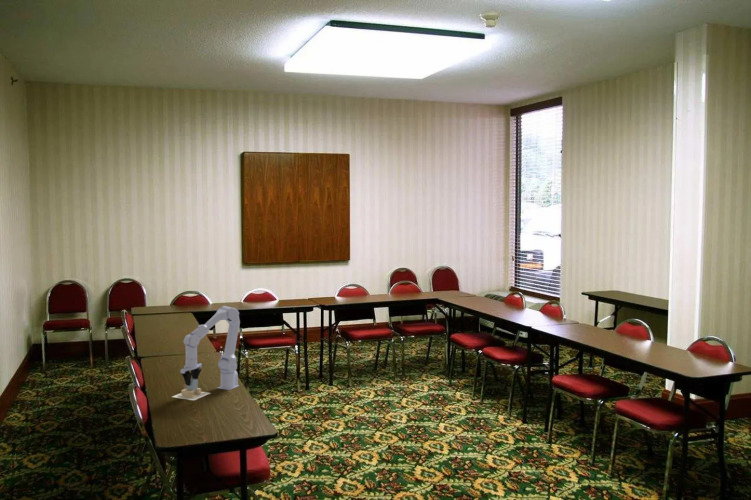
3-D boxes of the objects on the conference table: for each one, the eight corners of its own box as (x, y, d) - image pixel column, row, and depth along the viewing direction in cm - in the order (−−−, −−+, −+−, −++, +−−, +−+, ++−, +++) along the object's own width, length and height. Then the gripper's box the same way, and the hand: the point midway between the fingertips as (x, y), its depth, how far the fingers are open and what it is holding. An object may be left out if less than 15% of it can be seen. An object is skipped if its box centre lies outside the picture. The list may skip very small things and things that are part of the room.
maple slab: (190, 392, 334) (190, 386, 334) (201, 394, 331) (201, 388, 331) (181, 395, 328) (181, 390, 327) (192, 397, 325) (192, 391, 325)
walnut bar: (192, 387, 344) (193, 382, 344) (197, 388, 343) (197, 382, 343) (183, 390, 336) (183, 384, 336) (187, 391, 335) (188, 385, 335)
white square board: (189, 390, 339) (189, 389, 339) (211, 393, 333) (211, 392, 333) (171, 397, 326) (171, 396, 326) (193, 400, 320) (193, 400, 320)
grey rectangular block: (191, 387, 332) (191, 378, 331) (197, 388, 330) (197, 379, 330) (186, 389, 328) (186, 380, 328) (192, 390, 327) (192, 381, 326)
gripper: (194, 354, 336) (194, 379, 337) (175, 360, 323) (175, 386, 324) (205, 355, 334) (205, 381, 335) (186, 361, 320) (187, 388, 321)
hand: (191, 384), depth 329 cm, fingers open, 5 cm apart
